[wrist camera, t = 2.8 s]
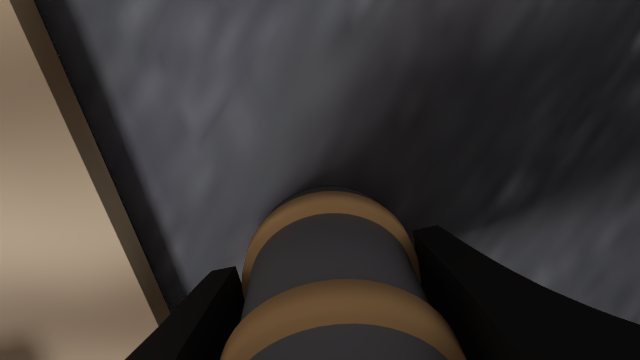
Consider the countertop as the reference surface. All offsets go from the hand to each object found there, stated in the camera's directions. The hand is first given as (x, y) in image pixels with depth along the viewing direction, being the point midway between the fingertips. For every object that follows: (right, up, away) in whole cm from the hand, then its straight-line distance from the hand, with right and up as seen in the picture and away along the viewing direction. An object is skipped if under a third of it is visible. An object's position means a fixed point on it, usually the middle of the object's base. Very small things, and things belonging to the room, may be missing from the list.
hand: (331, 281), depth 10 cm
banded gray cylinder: (0, +1, +1) cm, 1 cm away
